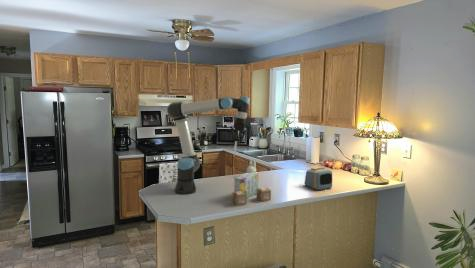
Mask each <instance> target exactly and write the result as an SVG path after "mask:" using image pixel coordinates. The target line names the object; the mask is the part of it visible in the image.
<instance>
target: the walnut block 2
mask: <svg viewBox="0 0 475 268" xmlns="http://www.w3.org/2000/svg"><path fill="white" fill-rule="evenodd" d="M271 198H272V190H271V189H269V188H267V187H258V188H257V194H256V199H257V200H258V199H259V200H258V201H260V202H266V201H268V200H269V201H271Z"/></svg>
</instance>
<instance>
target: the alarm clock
mask: <svg viewBox="0 0 475 268" xmlns="http://www.w3.org/2000/svg"><path fill="white" fill-rule="evenodd" d="M304 177H305V178H304V186H306V187H309V188H311V189H313V190H315V191H316V190H317V191H322V190H327V189H331V188H333V171H332V170H331V169H327V168H326V167H323V166H313V167H311V168H310V169H307V170H306V172H305V176H304Z"/></svg>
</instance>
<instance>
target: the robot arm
mask: <svg viewBox="0 0 475 268" xmlns="http://www.w3.org/2000/svg"><path fill="white" fill-rule="evenodd" d="M250 100H251V99H250V98H249V97H247V96H240V97H239V98H235V97H230V96H223V97H221V98H214V99H207V100H200V101H193V102H183V101H176V102H175V101H174V102H171V103H170V104H168V106H167V108H166V113H167V114H168V116H169V117H170V118H171V119H172V122H174V123H175V124H176V128H177V133H178V136H179V137H178V138H179V143H180V146H181V151H182V155H181V158H179V159H178V160H177V165H176V166H177V172H176V174H177V175H176V176H177V181H176V184H175V186H174V192H175V193H176V194H179V195H190V194H195V193H196V192H197V187H196V183H195V172H198V170H199V168H200V166H201V160H200V158H199V157H198V154H197V152H195V149H194V144H193V140H192V135H191V132H190V127H189V121H188V120H189V119H190V117H189V115H190V114H197V113H206V112H212V111H218V110H229V109H234V110H237V111H236V117H235V120H234V123H233V125H230V129H231V130H230V132H231V133H230V134H231V140H232V141H233V144H232V145H233V151H237V147H239V146H240V144H239V143H240V142H242V141H243V139H244V137H245V135H246V133H247V132H248V129H247V128H246V122H247V117H248V111H249V107H250V102H251V101H250ZM234 130H235V133H234ZM243 130H244V131H243ZM242 132H243V133H242ZM241 135H242V136H241ZM237 136H238V137H237Z"/></svg>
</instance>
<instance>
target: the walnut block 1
mask: <svg viewBox="0 0 475 268" xmlns="http://www.w3.org/2000/svg"><path fill="white" fill-rule="evenodd" d="M231 199H232V201H231V202H232V203H233V204H234V205H235V206H238V205H239V206H244V205H245V204H246V205H247V204H248V203H247V202H248V201H247V200H248V197H247V194H246V193H245V192H243V191H237V192H234V191H232V198H231Z"/></svg>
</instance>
